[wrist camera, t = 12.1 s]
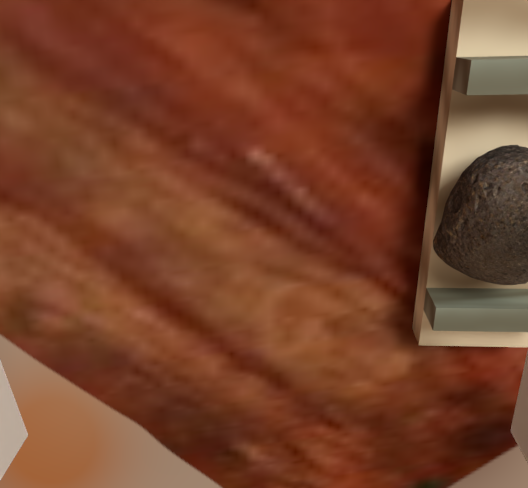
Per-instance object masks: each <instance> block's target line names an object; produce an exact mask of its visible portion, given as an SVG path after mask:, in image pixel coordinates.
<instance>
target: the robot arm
mask: <svg viewBox="0 0 528 488" xmlns="http://www.w3.org/2000/svg"><path fill="white" fill-rule="evenodd" d="M511 433H512V435H513V436H514V438H515V440H516V442H517V444H518V446H519V448H520V450H521V451H522V453H523V455H524V457H525V459H526V461H527V463H528V352H527V356H526V361H525V366H524V370H523V375H522V380H521V384H520V389H519V394H518V398H517V403H516V408H515V412H514V417H513V422H512V426H511ZM27 436H28V433H27V430H26V428H25V425H24V422H23V420H22V417H21V415H20V412H19V409H18V406H17V403H16V401H15V398H14V395H13V393H12V390H11V387H10V385H9V382H8V379H7V377H6V374H5V371H4V368H3V366H2V363H1V360H0V480H1V478H2V477H3V475H4V474H5V472H6V470H7V469H8V467H9V465H10V464H11V462H12V461H13V459H14V457H15V456H16V454H17V452H18V451H19V449H20V448H21V446H22V444H23V443H24V441H25V439H26V438H27Z"/></svg>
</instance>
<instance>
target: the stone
mask: <svg viewBox="0 0 528 488" xmlns="http://www.w3.org/2000/svg"><path fill="white" fill-rule="evenodd" d="M433 248H434V251H435V252H436V254H437V255H438V257H439V258H440V259H442V260H443V261H444V262H445V263H446V264H447V265H449V266H450V267H452V268H454V269H455V270H457V271H459V272H461V273H463V274H465V275H467V276H469V277H471V278H474V279H477V280H481V281H485V282H488V283H493V284H499V285H517V284H526V283H527V282H528V148H527V147H522V146H519V145H508V146H501V147H498V148H495V149H493V150H491V151H488V152H487V153H485V154H483V155H481V156H479V157H477V158H476V159H475V160H474V161H473V162H472V163H471V164H470V165H469V166H468V167H467V168H466V169H465V170H464V171H463V172H462V174H461V176H460V177H459V179H458V181H457V182H456V184H455V186H454V187H453V189H452V191H451V192H450V194H449V197H448V199H447V201H446V203H445V208H444V212H443V216H442V221H441V223H440V225H439V228H438V230H437V233H436V235H435V237H434V240H433Z"/></svg>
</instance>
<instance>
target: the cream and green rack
mask: <svg viewBox="0 0 528 488" xmlns="http://www.w3.org/2000/svg"><path fill="white" fill-rule="evenodd" d="M508 145H519V146H522V147H527V148H528V0H452V4H451V13H450V21H449V29H448V37H447V46H446V54H445V62H444V70H443V79H442V87H441V95H440V103H439V112H438V120H437V128H436V136H435V145H434V153H433V161H432V169H431V178H430V186H429V194H428V202H427V210H426V219H425V227H424V235H423V243H422V252H421V260H420V268H419V276H418V285H417V293H416V301H415V309H414V318H413V326H412V329H413V332H414V334H415V337H416V340H417V342H418V345H426V346H483V347H528V282H527V283H526V284H517V285H499V284H493V283H488V282H485V281H481V280H477V279H474V278H471V277H469V276H467V275H465V274H463V273H461V272H459V271H457V270H455V269H454V268H452V267H450V266H449V265H447V264H446V263H445V262H444V261H443V260H442V259H440V258H439V257H438V255H437V254H436V252H435V251H434V248H433V240H434V237H435V235H436V233H437V230H438V228H439V225H440V223H441V221H442V216H443V212H444V208H445V203H446V201H447V199H448V197H449V194H450V192H451V191H452V189H453V187H454V186H455V184H456V182H457V181H458V179H459V177H460V176H461V174H462V172H463V171H464V170H465V169H466V168H467V167H468V166H469V165H470V164H471V163H472V162H473V161H474V160H475V159H476V158H477V157H479V156H481V155H483V154H485V153H487V152H488V151H491V150H493V149H495V148H498V147H501V146H508Z"/></svg>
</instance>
